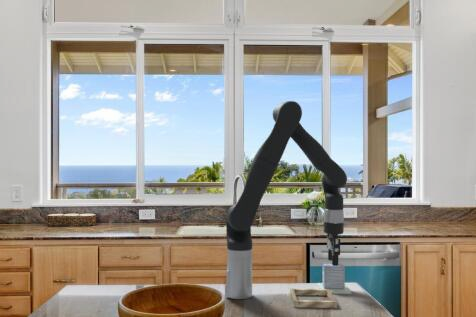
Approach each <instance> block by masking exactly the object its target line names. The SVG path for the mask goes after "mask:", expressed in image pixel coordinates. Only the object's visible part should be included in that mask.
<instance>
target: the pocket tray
mask: <svg viewBox="0 0 476 317" xmlns="http://www.w3.org/2000/svg"><path fill="white" fill-rule="evenodd" d="M289 293H290V298H291V301H292V305H293V308H307V309H308V308H311V309H312V308H313V309H316V308H317V309H338V301H337V299H336V298H335V296H334V294H332V293H331V291H330V289H319V288H290V292H289ZM316 295H319V297H320V296H321V297H323V296H324V297H325V296H326V297H327V298H328V300H315V299H314V300H312V299H311V300H309V299H308V300H307V299H306V300H305V299H304V300H303V299H298V298H297V296H316Z"/></svg>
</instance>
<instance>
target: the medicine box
mask: <svg viewBox="0 0 476 317" xmlns="http://www.w3.org/2000/svg"><path fill="white" fill-rule="evenodd" d="M345 268H346V267H345V266H344V264H342V263H338V266H333V265H332V263H322V273H321V274H322V282H321V283H323V287H324V289H345V284H346V282H345V281H346V280H345V279H346V278H345V277H346V275H345V274H346V272H345V271H346V270H345Z"/></svg>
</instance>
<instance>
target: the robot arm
mask: <svg viewBox="0 0 476 317" xmlns="http://www.w3.org/2000/svg"><path fill="white" fill-rule="evenodd" d="M302 110H303V109H302V106H301V105H300V104H299V103H298V102H296V101H294V100H289V101H284V102H281V103H278V104H277V105H275V106H274V108H273V110H272V119H273V120H274V122H275V123H274V125H273V128H272V130H271V132H270V134H269V135H268V137H267V138H266V139H265V140H264V141H263V143H262V144H261V146H260V147H259V148H258V149H257V152H256V153H255V154H254V157H253V159H252V161H251V164H250V166H249V170H248V172H247V175H246V178H245V179H246V180H245V184H244V188H243V191H242V192H241V195H240V197H239V199H238V201H237V202H236V203H235V204H233V205H232V206H230V207H229V209H228V210H227V212H226V217H225V218H226V221H225V223H226V246H227V247H226V256H227V257H226V286H225V287H226V288H225V289H226V293H225V294H226V295H225V296H226V298H227V299H228V298H229V299H233V300H246V299H250V298H252V296H253V239H252V229H251V228H252V226H253V224H254V221H255V219H256V215H257V213H258V209H259V206H260V204H261V201H262V199H263V196H265V195H264V194H265V193H266V191H267V189H268V187H269V186H270V183H271V182H272V180H273V177H274V176H275V173H276V171H277V169H278V166H279V164H280V163H281V162H280V161H281V159H282V158H283V155H284V153H285V151H286V148H287V145H288V143H289V141H290V139H292V141H293V142H294V143H295V144H296V145H297V146H298V147H299V148H300V150H301V151H302V153H303V154H304V156H305V157H306V158H307V159H308V160H309V162H310V163H311V164H312V165H313V167H314V168H315V169H316V170H317V171H318V172H321V173H323V175H322V178H321V186H322V190H323V191H322V192H323V195H324V211H323V233H325V234H326V248H327V259H328V261H331V264H332V265H333V266H338V264H339V256H340V255H341V239H340V238H339V235H343V234H344V228H345V227H344V225H345V224H344V222H345V220H344V219H345V216H344V215H345V213H344V196H343V195H342V194H341V193H340V191H339V190H340V189H341V188H343V187H345V186H346V184H347V182H348V176H347V174H346V172H345V170H344V169H343V168H342V167H341V166H340V165H339V164H338V163H337V162H336V161H335V160H333V159H332V157H330V155H329V154H328V152H327V151H326V150H325V148H324V147H323V145H322V144H321V143H320V142H319V141H318V140H317V139H316V138H314V137H313V136H312V135H311V134H310V133H309V132H308V131H307V130H306V129H305V128H304V127H303V125H302V124H301V123H300V121H301V120H302V116H303V115H302V114H303V111H302Z"/></svg>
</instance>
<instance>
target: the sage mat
mask: <svg viewBox="0 0 476 317" xmlns="http://www.w3.org/2000/svg"><path fill="white" fill-rule="evenodd" d="M316 284H317V288H318V287H319V288H318V289H324V287H323V282H317V283H316ZM330 291H331V293H332V294H333V295H352V291H351V289H350V288H349V287H348V286H347V284H346V283H345V289H330Z"/></svg>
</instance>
